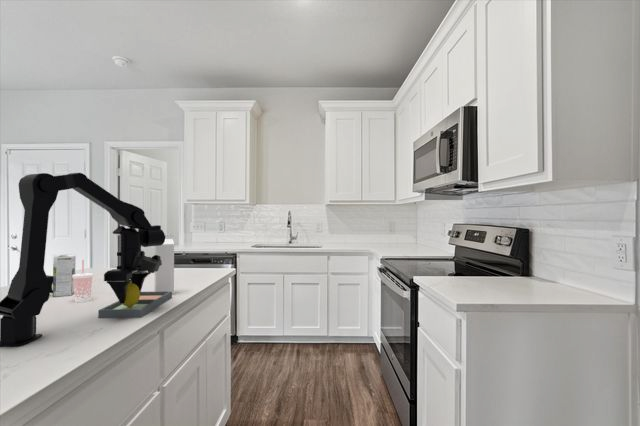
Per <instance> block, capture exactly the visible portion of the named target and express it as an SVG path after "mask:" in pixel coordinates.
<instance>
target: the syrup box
mask: <svg viewBox="0 0 640 426" xmlns="http://www.w3.org/2000/svg"><path fill="white" fill-rule="evenodd" d="M76 257H77V256H76V254H59V255H56V256H53V264H52V265H53V266H52V267H53V269H52V270H53V271H52V276H53V277H54V280H53V284H52V290H53V293H52V297H53V298H57V297H67V296H73V294H74V283H73V278H72V275H74V274H76Z"/></svg>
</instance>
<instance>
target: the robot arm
mask: <svg viewBox="0 0 640 426" xmlns="http://www.w3.org/2000/svg"><path fill="white" fill-rule="evenodd" d="M71 189H72V190H74V191H75V192H76V193H78V194H80V195H82V196H83V197H84V198H87V199H88V200H89V201H91V202H93V204H96V205H98V206H99V207H101V208H102V209H104V210H105V211H107V213H109V215H110V216H111V218H112V219H113V220H114V221H115V222H116V223H117V224H119V226H117V228H116V229H114V230H112V234H113V235H119V251H118V252H116V256H117V257H119V265H117V266H116V268H115V269H114V268H113V269H110V270H107V271H105V273H104V274H103V282H106V284H108V285H109V286H110V288H111V289H112V291H113V292H114V294H115V296H116V297H117V301H120V303H125V299H126V292H127V285H128V284H129V283H130V282H131V283H134V284H136V285H137V286H138V288H139V291H140V292H142V289H143V286H144V282H145V280H146V278H147V277H148V276H149V275H151V274H155V272H156V271H158V269H159V266H161V265H162V263H161V262H162V261H161V258H160V256H158V255H155V254H154V255H153V256H146V255H145V253H146V252H145V251H144V250H142V248H143V247H144V248H149V247H150V248H151V247H155V246H160V245H162V244H163V243H164V242H165V235H166V234H165V232H164V231H163V230H162V226H161V225H157V224H156V225H152V224H151V223H150V222H149V220H148V219H147V217H146V215H145V214H146V213H145V211H144V210H143V209H142V208H141V207H139V206H136V205H134V204H132V203H129V202H125V201H123V200H121V199H119V198H118V197H116V196H115V195H113V194H112V193H110V192H109V191H107V190H106V189H104V188H103V187H102V186H100V185H99V184H97V183H96V182H95V181H93V180H91V179H90V178H88V176H87V175H86V174H85V173H82V172H72V173H67V174H62V175H61V174H60V175H52V174H50V173H46V172H45V173H43V172H41V173H32V174H31V173H30V174H25V175H24V176H22V177H21V178H20V179H19V182H18V193H19V199H20V201H21V205H22V206H23V209H24V213H23V222H22V223H23V224H22V235H21V245H20V254H19V266H18V268H17V269H18V270H17V271H16V273H15V274H14V276H13V278H12V279H11V282H10V285H9V288H8V291H7V294H6V295H5V296H4V297H3V298H2V299H1V300H0V316H2V317H1V318H0V347H4V346H5V347H8V346H9V347H11V346H13V347H14V346H24V345H26V344H28V343H30V342H32V341H34V340H36V339H39V338H41V337H43V334H42V333H37V316H40V314H41V311H42V309H43V306H44V305H45V303H47V302H48V301H49V299H50V296H51V294H53V280H54V277H53V275H47V273H46V271H45V260H46V258H45V257H46V247H47V239H48V237H47V236H48V226H49V214H50V210H51V209H52V207H53V205H54V204H55V202H56V200H57V197H58V194H59V192H60V191H66V190H71ZM127 227H128V228H127Z"/></svg>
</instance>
